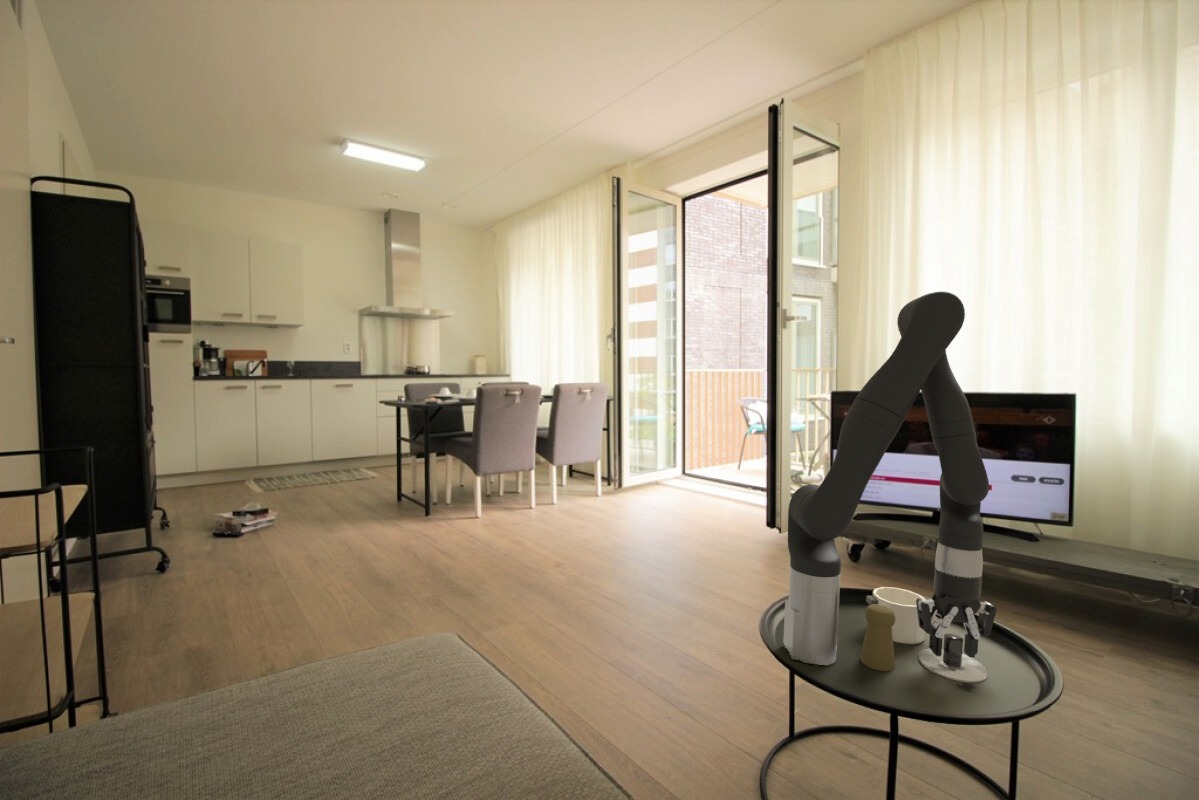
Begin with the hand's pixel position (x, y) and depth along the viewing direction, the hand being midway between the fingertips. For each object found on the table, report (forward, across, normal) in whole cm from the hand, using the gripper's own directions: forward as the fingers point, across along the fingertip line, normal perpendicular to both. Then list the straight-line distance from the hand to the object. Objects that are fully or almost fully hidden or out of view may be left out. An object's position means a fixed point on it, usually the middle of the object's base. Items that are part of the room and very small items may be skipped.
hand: (952, 654), depth 106 cm
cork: (+2, +14, 0) cm, 14 cm away
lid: (+3, 0, 0) cm, 3 cm away
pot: (+2, +4, -13) cm, 14 cm away
